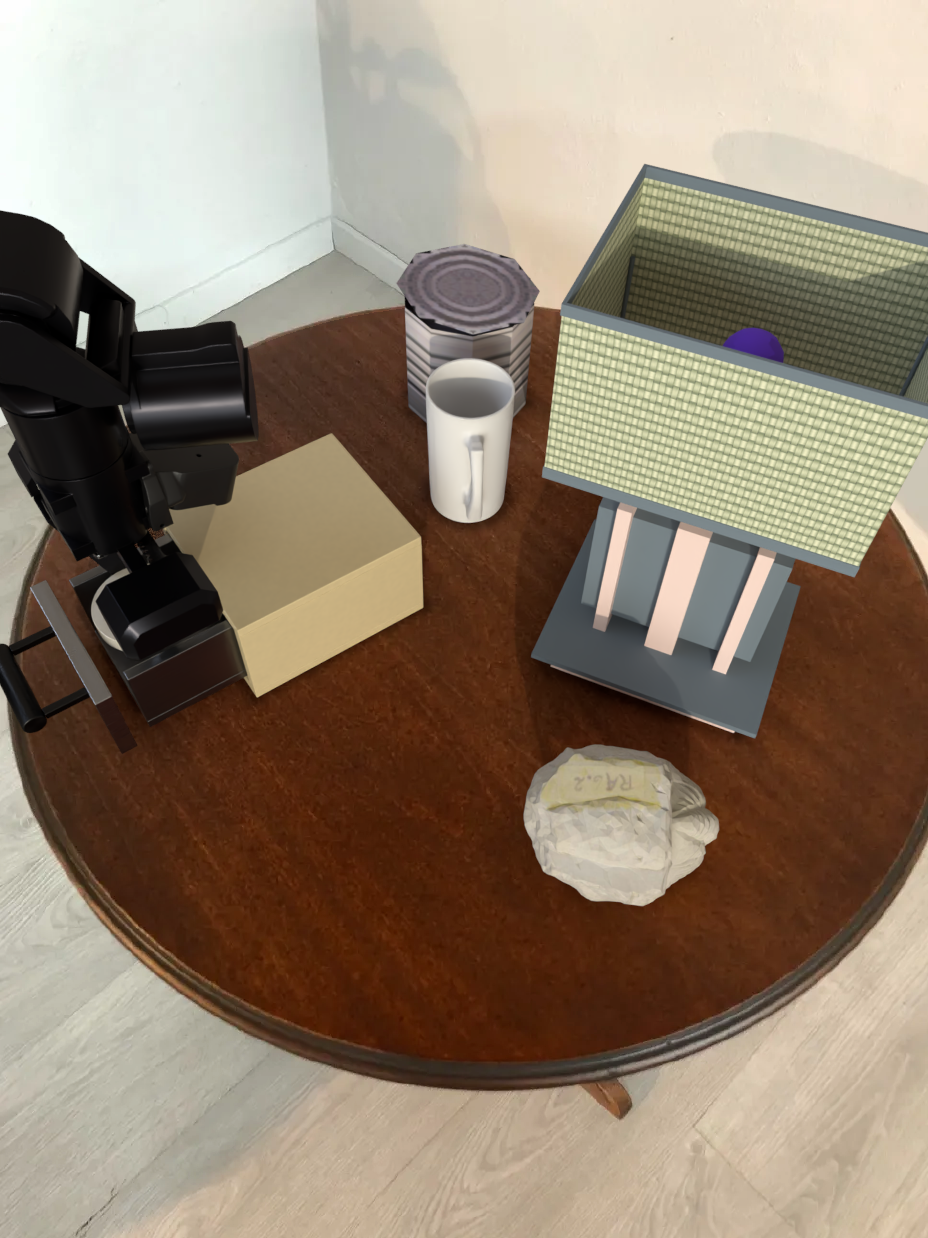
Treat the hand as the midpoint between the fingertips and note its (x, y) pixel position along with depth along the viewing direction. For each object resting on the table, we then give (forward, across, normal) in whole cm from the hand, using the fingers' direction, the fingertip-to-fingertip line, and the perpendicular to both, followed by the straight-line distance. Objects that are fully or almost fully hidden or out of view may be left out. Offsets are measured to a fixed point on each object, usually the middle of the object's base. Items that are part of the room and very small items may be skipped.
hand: (143, 607), depth 70 cm
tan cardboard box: (+7, 0, -12) cm, 14 cm away
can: (+8, +12, -36) cm, 38 cm away
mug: (+8, 0, -28) cm, 29 cm away
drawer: (+6, 0, +1) cm, 7 cm away
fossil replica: (+8, -30, -18) cm, 36 cm away
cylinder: (+1, 0, 0) cm, 1 cm away
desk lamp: (+8, -19, -32) cm, 38 cm away
